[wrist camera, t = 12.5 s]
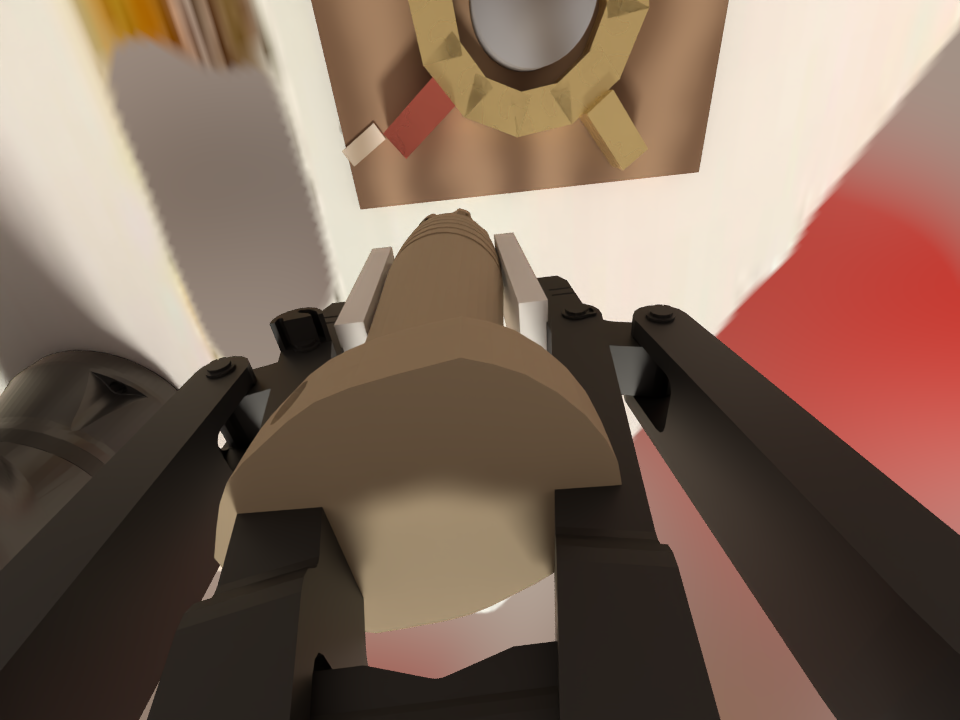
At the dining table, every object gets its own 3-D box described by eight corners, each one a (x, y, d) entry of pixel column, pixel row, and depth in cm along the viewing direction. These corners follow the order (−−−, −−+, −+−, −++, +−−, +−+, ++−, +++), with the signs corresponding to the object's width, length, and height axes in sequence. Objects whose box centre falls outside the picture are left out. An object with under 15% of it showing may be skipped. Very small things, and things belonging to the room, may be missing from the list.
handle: (366, 251, 19) (148, 550, 6) (467, 145, 17) (443, 275, 4) (441, 320, 21) (390, 656, 8) (540, 233, 19) (681, 510, 6)
